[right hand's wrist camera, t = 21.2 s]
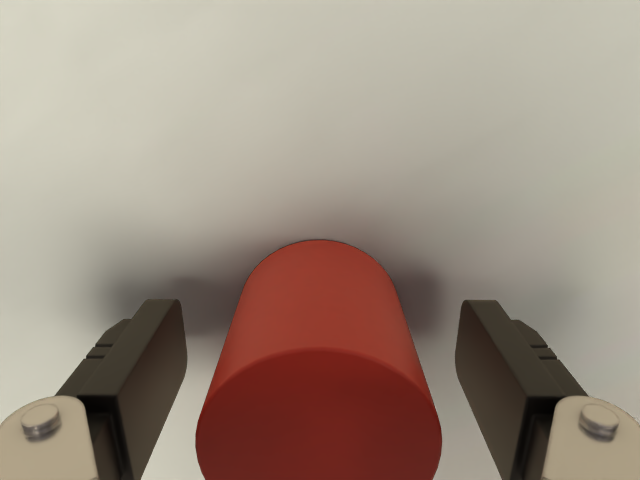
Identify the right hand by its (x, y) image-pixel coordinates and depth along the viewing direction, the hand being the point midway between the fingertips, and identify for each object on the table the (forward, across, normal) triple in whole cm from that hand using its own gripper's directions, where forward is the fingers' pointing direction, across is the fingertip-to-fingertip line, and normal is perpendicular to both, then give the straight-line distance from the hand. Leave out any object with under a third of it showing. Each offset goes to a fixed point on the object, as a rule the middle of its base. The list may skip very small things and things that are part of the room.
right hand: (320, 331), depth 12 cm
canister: (+1, 0, 0) cm, 1 cm away
